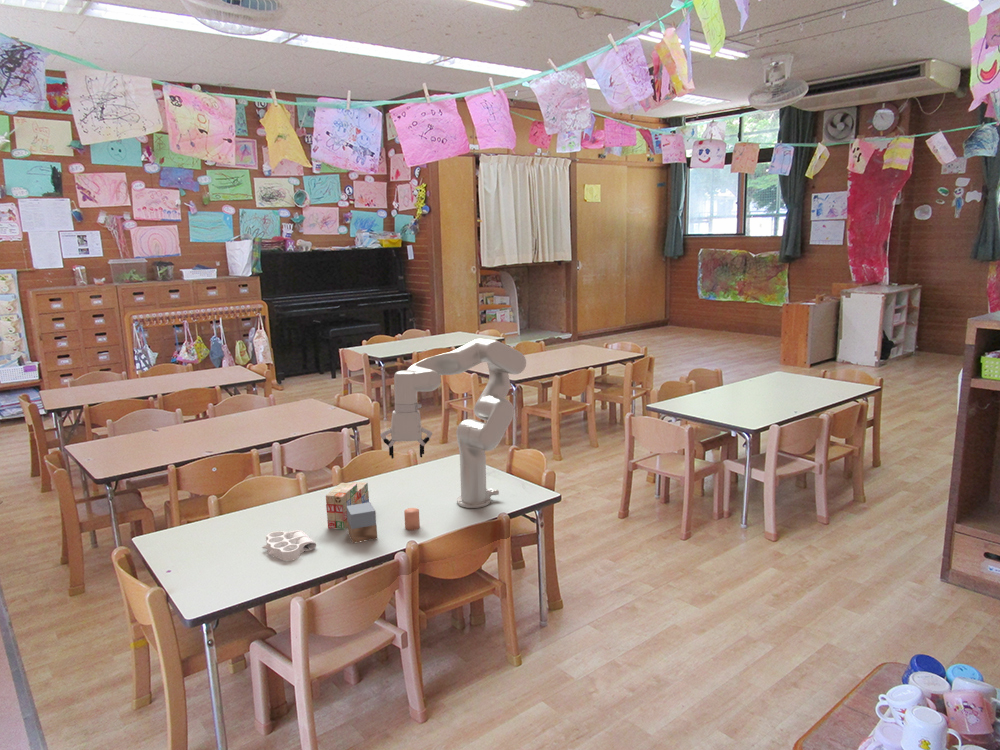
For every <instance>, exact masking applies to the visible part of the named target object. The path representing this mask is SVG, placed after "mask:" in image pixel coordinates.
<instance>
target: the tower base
mask: <svg viewBox="0 0 1000 750" xmlns="http://www.w3.org/2000/svg"><path fill="white" fill-rule="evenodd" d="M347 533H349V534H348V535H350V536H349V538H350V537H351V538H350V540H351V539H352V540H351V542H352V544H355V542H357V543H361V542H360V541H362V542H365V541H364V540H368V541H370V540H369V539H373V540H377V539H378V527H377V524H376V525H373V526H367V527H361V528H356V529H351V527H350V525H349V523H348V527H347ZM376 538H377V539H376Z"/></svg>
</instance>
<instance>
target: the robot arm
mask: <svg viewBox="0 0 1000 750" xmlns="http://www.w3.org/2000/svg"><path fill="white" fill-rule="evenodd" d="M481 363H485V364H486V365H487V368H488V375H489V376H488V381H487V383H486V385H485V387H484V389H483V391H482V393H481V394H480V395H479V397H478V399H477V401H476V402H475V404H474V407H473V413H474V414H475V415H474V416H476V417H477V418H478V419H480V420H477V419H473V418H472V419H471V418H467V419H464V420H462V421H461V422H460V423H458V425H457V427H456V440H457V444H458V445H457V446H458V449H459V468H460V470H459V471H460V474H459V475H460V495H459V497H457V499H456V502H457V503H456V504H457V505H458V506H460V507H462V508H467V509H478V508H479V509H480V508H484V507H487V506H488V505H489V504H491V502H492V498H491V497H492V496H499V495H500V490H499V489H493V488H487V463H486V462H487V459H486V458H487V457H486V452H489V451H493V450H494V449H496V448H497V446H498V445H499V444H500V442H501V440H502V439H503V437H504V435H505V433H506V432H507V430H508V428H509V426H510V424H511V423H512V420H513V418H514V415H515V414H514V413H515V410H514V404H512V402H511V401H510V400H508V399H506V398H507V396H508V393H509V392H510V389H511V388H510V387H511V381H510V380H511V379H510V376H509V375H520V374H521V373H523V372H524V370H525V369H526V367H527V359H526V357H525V355H524V354H523V353H522V352H521V351H520V350H517V349H515V348H514V347H511V346H509V345H507V344H505V343H503V342H501V341H499V340H496V339H491V338H483V337H479V338H478V337H477V338H475V339H473V340H471V341H469V342H467V343H465V344H463V345H461V346H459V347H458V348H455V349H454V350H451V351H448V352H443V353H441V354H436V355H433V356H429V357H426V358H424V359H422V360H419V361H418V362H415V363H413V364H412V365H410V366H409V367H408V368H407V369H405V370H398V371H396V372H395V373H394V375H393V376H394V377H393V378H394V380H393V383H394V387H393V388H394V410H392V414H391V421H390V423H391V424H390V426H391V427H390V428H389V429H386V430H384V431H382V432H381V433H380V437H381V440H382V441H383V442H384V444H386V445H387V447H388V453H389V456H390V458H391V459H394V458H395V457H394V456H395V455H394V454H395V453H394V445H395V443H397V442H398V443H399V442H401V443H402V442H418V443H419V458H423V455H425V445H426V444H427V443H428V442H429V441H430V439H431V438H432V436H433V432H432V431H431V430H429V429H427V428H425V427H423V426H422V417H421V412H420V409H421V408H422V406H423V405H422V403H419V402H418V393H419V392H433V391H436V390H437V389H438V388H439V387H440V386H441V383H442V377H441V376H451V375H452V376H453V375H459V374H463V373H464V372H467V371H469V370H470V369H472V368H474V367H476V366H478V365H480V364H481ZM481 420H483V421H481ZM484 421H486V422H484ZM423 433H424V434H426V437H424V438H422V434H423ZM389 434H390V435H391V439H390V440H389V439H388V438H387V437H386V436H388V435H389Z"/></svg>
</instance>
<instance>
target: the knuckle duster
mask: <svg viewBox="0 0 1000 750" xmlns="http://www.w3.org/2000/svg"><path fill="white" fill-rule="evenodd" d="M265 539H266V540H265V541H266V544H265V545H263V546H262V547H261V548H262V549H265V550H267V553H268V555H270V556H271V555H272V556H271V557H273V556H274V557H273V558H278V557H279V558H278V559H280V561H282V560H291V561H294V560H296V558H297V559H298V558H299V557H300V556H301V554H302V553H305V552H309V551H313V550H315V548H317V543H316V541H314V540H312V538H311V537H310V536H309V535H307V534H306V533H305V531H303V530H300V529H295V530H291V531H283V530H282V531H281V530H277V531H276V530H275V531H272V532H269V533H267V534H266V536H265ZM305 546H307V548H306V547H305ZM309 548H310V549H311V550H310V549H309ZM304 551H305V552H304ZM300 553H301V554H300ZM293 559H294V560H293Z"/></svg>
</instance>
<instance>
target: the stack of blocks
mask: <svg viewBox="0 0 1000 750" xmlns="http://www.w3.org/2000/svg"><path fill="white" fill-rule="evenodd" d="M368 489H369V484H368V482H364V481H363V482H362V481H351V482H340V483H339V484H338V485H336V487H334V489H332V490H331V491H329V492H328V493H326V495H325V503H326V505H325V506H326V509H325V510H326V518H327V528H328V529H331V528H340V529H339V530H346V529H347V528H348V527H347V526H348V520H347V508H346V506H350V505H356V504H362V503H368V502H370V496H369V495H370V494H369V493H370V492H369V490H368ZM346 527H347V528H346ZM345 528H346V529H345Z"/></svg>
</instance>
